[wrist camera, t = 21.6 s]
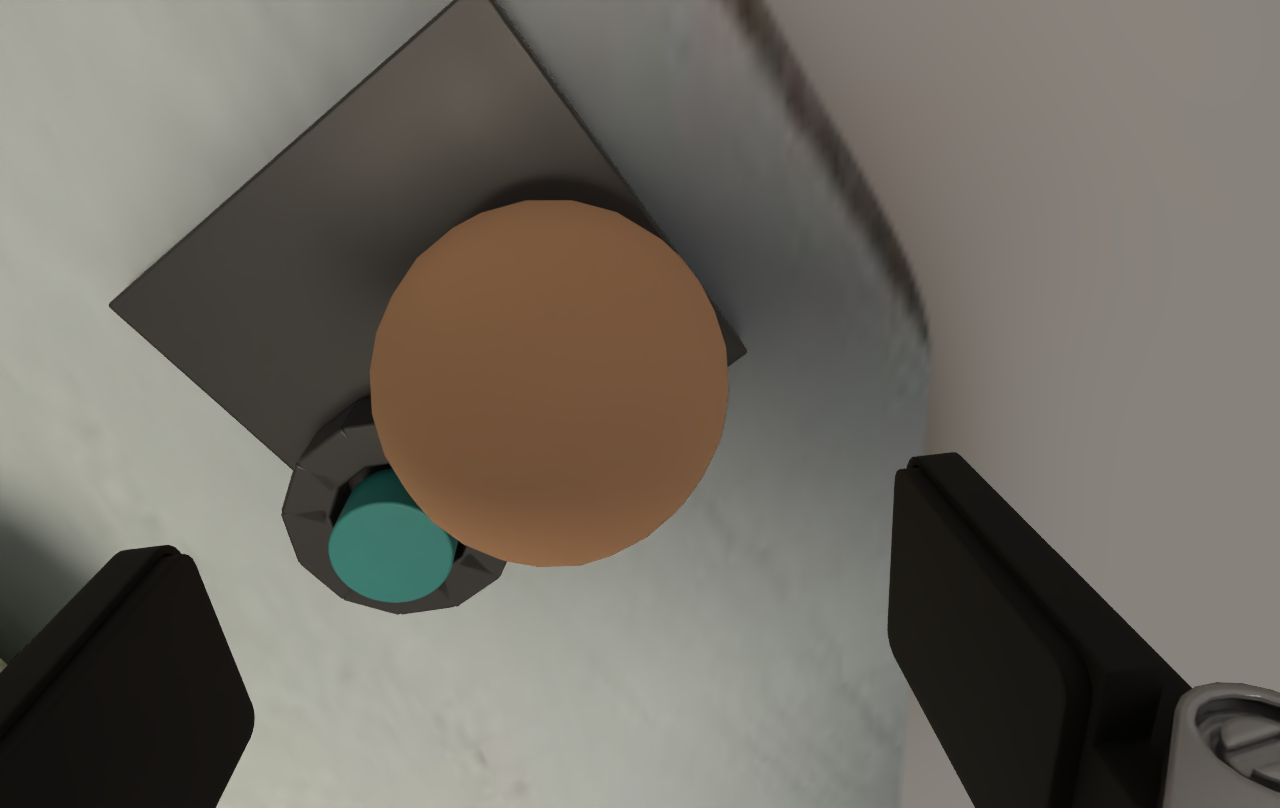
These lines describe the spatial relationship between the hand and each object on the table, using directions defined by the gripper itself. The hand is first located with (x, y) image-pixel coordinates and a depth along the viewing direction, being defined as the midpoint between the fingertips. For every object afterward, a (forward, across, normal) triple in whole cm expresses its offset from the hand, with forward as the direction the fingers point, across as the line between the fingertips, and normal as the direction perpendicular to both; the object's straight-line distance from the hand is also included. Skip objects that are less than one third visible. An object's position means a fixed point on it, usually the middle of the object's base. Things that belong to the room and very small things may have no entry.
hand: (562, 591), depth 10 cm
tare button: (+9, +5, +4) cm, 11 cm away
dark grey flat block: (+12, +3, -1) cm, 12 cm away
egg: (+11, 0, 0) cm, 11 cm away
